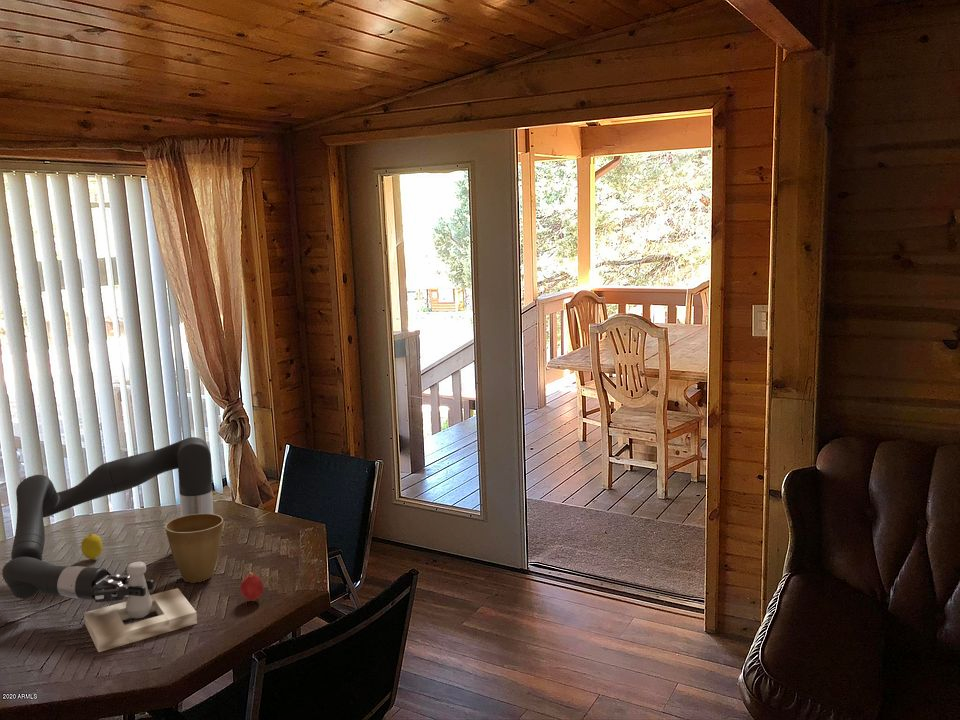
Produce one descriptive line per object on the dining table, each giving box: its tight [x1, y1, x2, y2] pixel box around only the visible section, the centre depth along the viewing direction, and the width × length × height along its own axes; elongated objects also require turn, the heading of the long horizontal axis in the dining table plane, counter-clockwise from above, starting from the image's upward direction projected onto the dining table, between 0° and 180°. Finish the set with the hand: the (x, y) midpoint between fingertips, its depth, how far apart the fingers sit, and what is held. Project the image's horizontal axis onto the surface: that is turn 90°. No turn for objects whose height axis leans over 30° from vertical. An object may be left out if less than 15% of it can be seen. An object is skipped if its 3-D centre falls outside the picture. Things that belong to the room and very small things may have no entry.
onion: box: [239, 572, 265, 602], centre depth 197 cm, size 6×6×8 cm
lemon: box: [80, 533, 104, 561], centre depth 223 cm, size 6×6×8 cm
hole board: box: [83, 587, 198, 653], centre depth 186 cm, size 22×16×3 cm
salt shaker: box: [126, 561, 152, 619], centre depth 185 cm, size 6×6×13 cm
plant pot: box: [164, 513, 224, 584], centre depth 211 cm, size 15×15×16 cm
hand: (148, 588), depth 185 cm, fingers closed on salt shaker, 3 cm apart
